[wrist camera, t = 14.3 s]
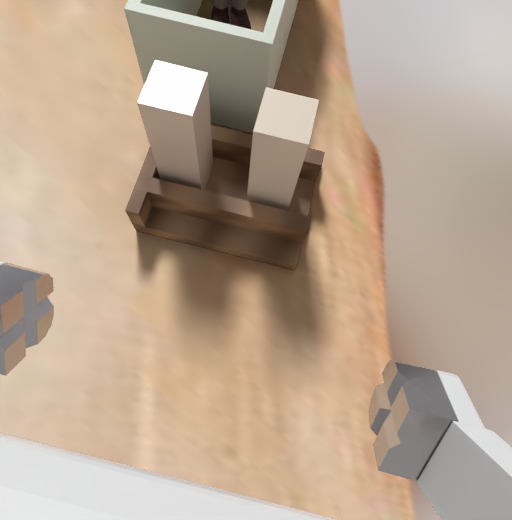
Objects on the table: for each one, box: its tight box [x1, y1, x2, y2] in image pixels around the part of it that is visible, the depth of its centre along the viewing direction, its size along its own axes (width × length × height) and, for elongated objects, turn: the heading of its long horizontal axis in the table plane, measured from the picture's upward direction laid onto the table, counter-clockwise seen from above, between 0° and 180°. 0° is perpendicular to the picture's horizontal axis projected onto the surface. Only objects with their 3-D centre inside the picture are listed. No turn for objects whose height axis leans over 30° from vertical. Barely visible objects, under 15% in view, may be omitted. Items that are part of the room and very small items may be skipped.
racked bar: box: [137, 60, 213, 190], centre depth 35 cm, size 4×4×12 cm
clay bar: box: [247, 87, 319, 211], centre depth 34 cm, size 4×4×12 cm
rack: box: [125, 125, 325, 270], centre depth 39 cm, size 16×13×4 cm
